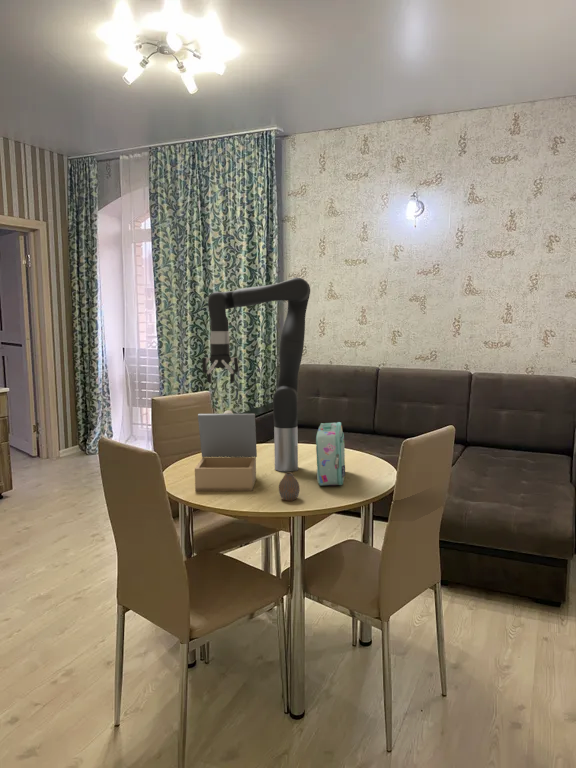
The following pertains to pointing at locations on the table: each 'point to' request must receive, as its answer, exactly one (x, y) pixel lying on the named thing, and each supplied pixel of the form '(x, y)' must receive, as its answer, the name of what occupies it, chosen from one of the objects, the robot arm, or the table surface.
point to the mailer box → (225, 474)
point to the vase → (289, 487)
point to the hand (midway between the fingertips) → (220, 383)
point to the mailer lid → (227, 435)
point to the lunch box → (330, 454)
